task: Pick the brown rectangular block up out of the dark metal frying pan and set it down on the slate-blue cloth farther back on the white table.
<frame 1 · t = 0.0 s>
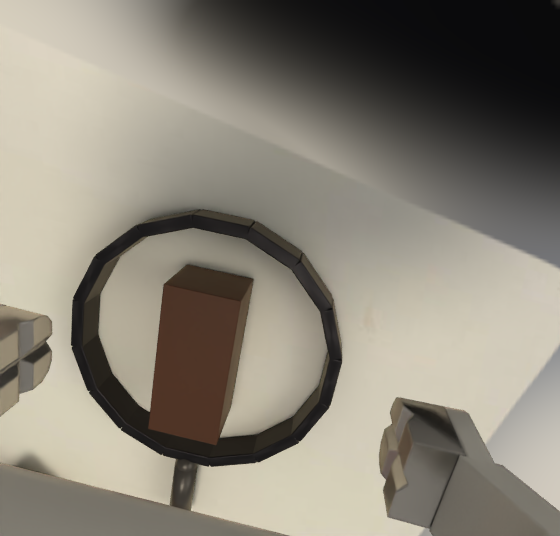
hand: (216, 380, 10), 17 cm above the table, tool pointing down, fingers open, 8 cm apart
brown rectangular block: (201, 353, 26), in the pan
pan: (210, 339, 28), on the table
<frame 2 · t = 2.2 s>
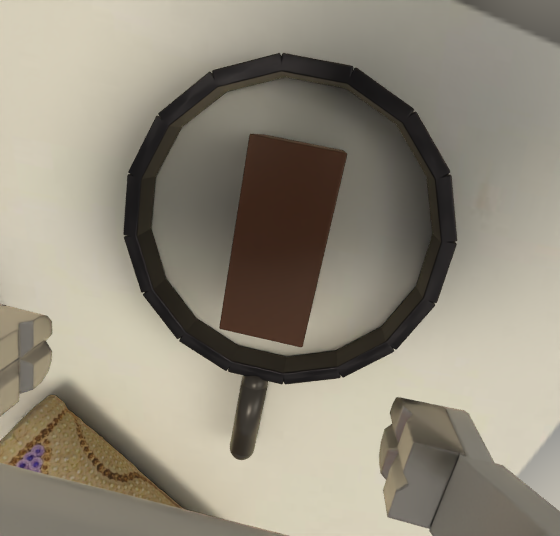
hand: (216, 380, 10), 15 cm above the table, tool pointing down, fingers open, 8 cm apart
brown rectangular block: (282, 239, 22), in the pan
decorative bottle: (152, 511, 32), on the table
pan: (286, 231, 24), on the table
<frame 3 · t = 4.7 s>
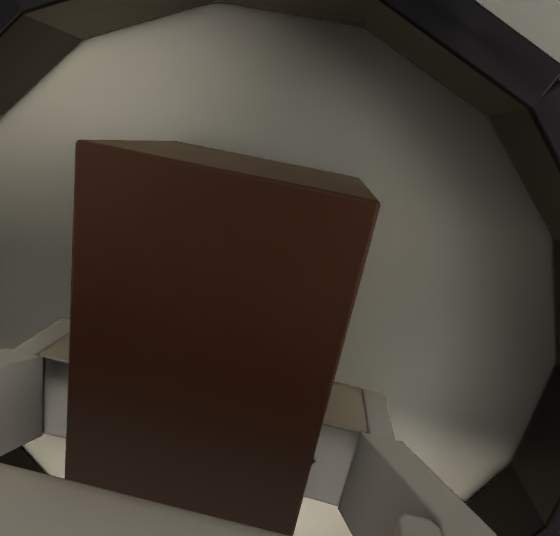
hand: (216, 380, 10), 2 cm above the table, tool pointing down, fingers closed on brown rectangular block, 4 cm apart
brown rectangular block: (214, 388, 9), in the pan, touching gripper
pan: (233, 346, 11), on the table
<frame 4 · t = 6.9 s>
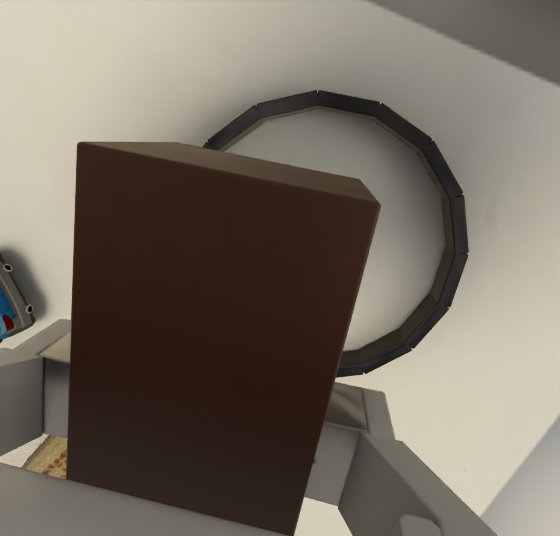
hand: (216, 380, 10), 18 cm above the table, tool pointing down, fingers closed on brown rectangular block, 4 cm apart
brown rectangular block: (214, 389, 9), point 18 cm above the table, touching gripper
decorative bottle: (183, 500, 34), on the table
pan: (315, 242, 27), on the table
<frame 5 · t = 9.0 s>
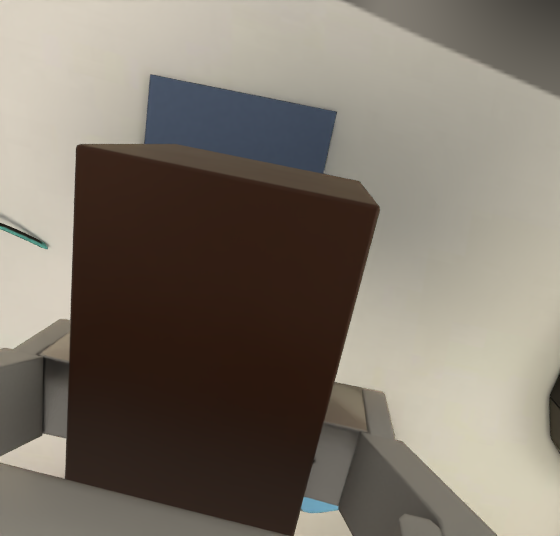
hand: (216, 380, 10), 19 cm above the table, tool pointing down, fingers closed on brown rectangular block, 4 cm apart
brown rectangular block: (214, 390, 9), point 20 cm above the table, touching gripper
toy car: (315, 435, 33), on the table
cloth: (228, 187, 28), on the table
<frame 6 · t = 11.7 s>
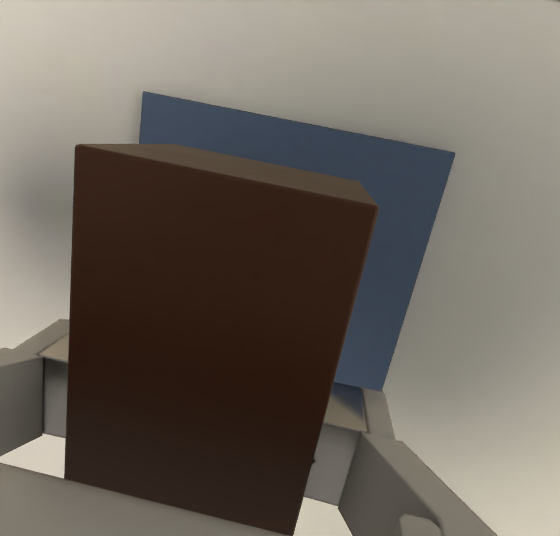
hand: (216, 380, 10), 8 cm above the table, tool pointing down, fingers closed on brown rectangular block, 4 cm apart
brown rectangular block: (213, 391, 9), point 9 cm above the table, touching gripper
cloth: (268, 268, 18), on the table
when the fingers open (2 cm above the table, at t = 13.7 s): brown rectangular block stays where it is, resting on cloth.
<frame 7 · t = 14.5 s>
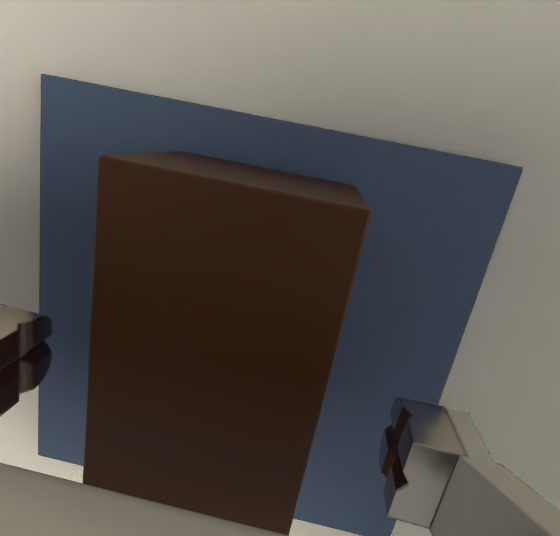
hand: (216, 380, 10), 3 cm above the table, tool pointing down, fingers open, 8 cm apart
brown rectangular block: (220, 381, 10), resting on cloth
cloth: (238, 333, 12), on the table
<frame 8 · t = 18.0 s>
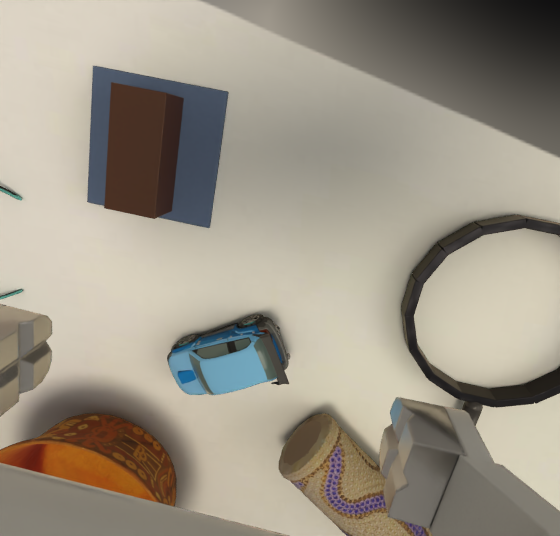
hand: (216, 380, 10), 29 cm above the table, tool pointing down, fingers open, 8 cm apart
brown rectangular block: (144, 152, 35), resting on cloth
decorative bottle: (369, 493, 46), on the table
pan: (500, 311, 38), on the table
toy car: (232, 347, 42), on the table
bowl: (119, 459, 49), on the table
cloth: (154, 150, 37), on the table
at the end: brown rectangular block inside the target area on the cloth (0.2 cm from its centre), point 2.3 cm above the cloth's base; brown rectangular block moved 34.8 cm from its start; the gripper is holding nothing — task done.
